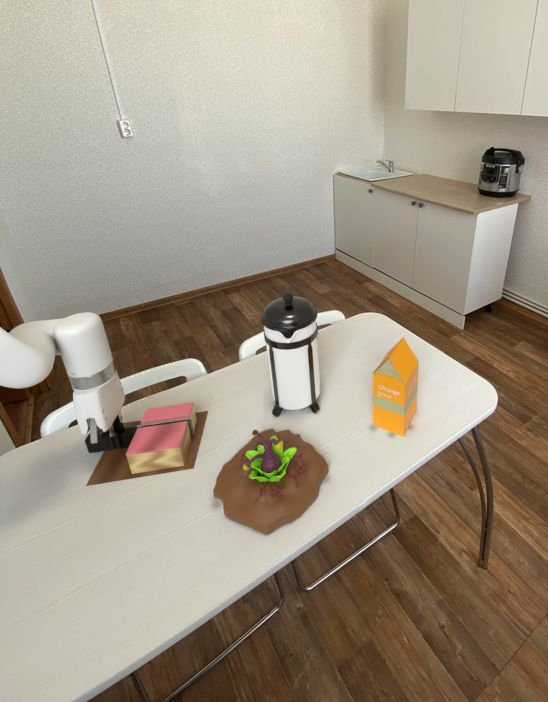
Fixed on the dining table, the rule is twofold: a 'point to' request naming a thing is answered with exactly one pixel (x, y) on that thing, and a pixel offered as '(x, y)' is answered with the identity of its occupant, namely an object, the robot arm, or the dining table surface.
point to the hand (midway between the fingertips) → (115, 443)
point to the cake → (151, 452)
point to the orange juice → (395, 389)
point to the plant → (270, 480)
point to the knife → (132, 434)
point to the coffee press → (292, 353)
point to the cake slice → (169, 414)
